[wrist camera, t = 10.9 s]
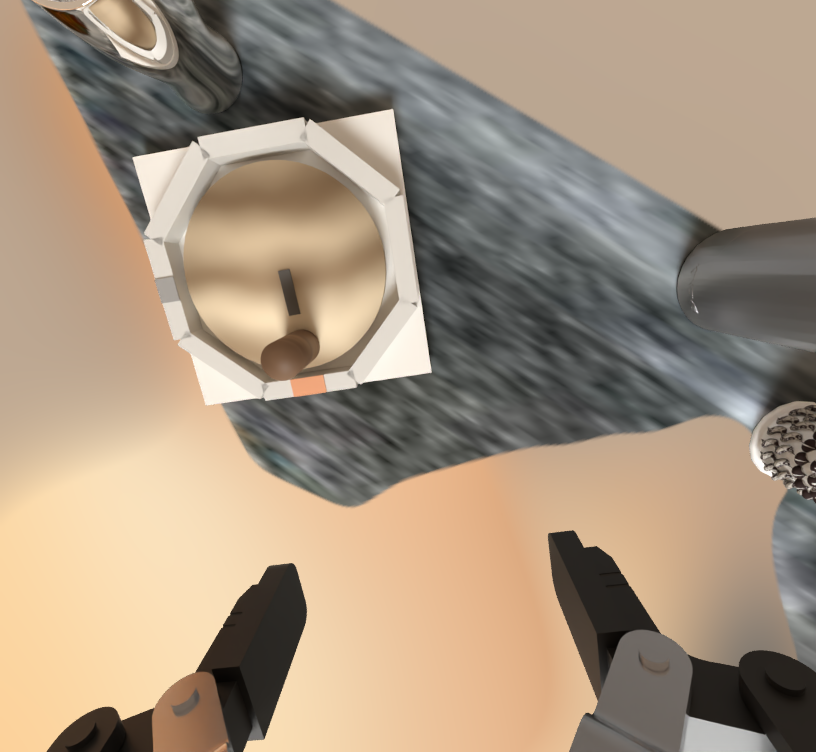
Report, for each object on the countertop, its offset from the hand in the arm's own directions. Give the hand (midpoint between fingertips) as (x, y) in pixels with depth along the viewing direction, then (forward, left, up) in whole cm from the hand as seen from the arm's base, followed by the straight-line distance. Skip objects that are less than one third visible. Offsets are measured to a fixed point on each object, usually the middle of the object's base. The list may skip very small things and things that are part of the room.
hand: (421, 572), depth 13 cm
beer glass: (+14, -27, -28) cm, 42 cm away
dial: (+10, -11, -26) cm, 30 cm away
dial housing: (+10, -11, -28) cm, 32 cm away
